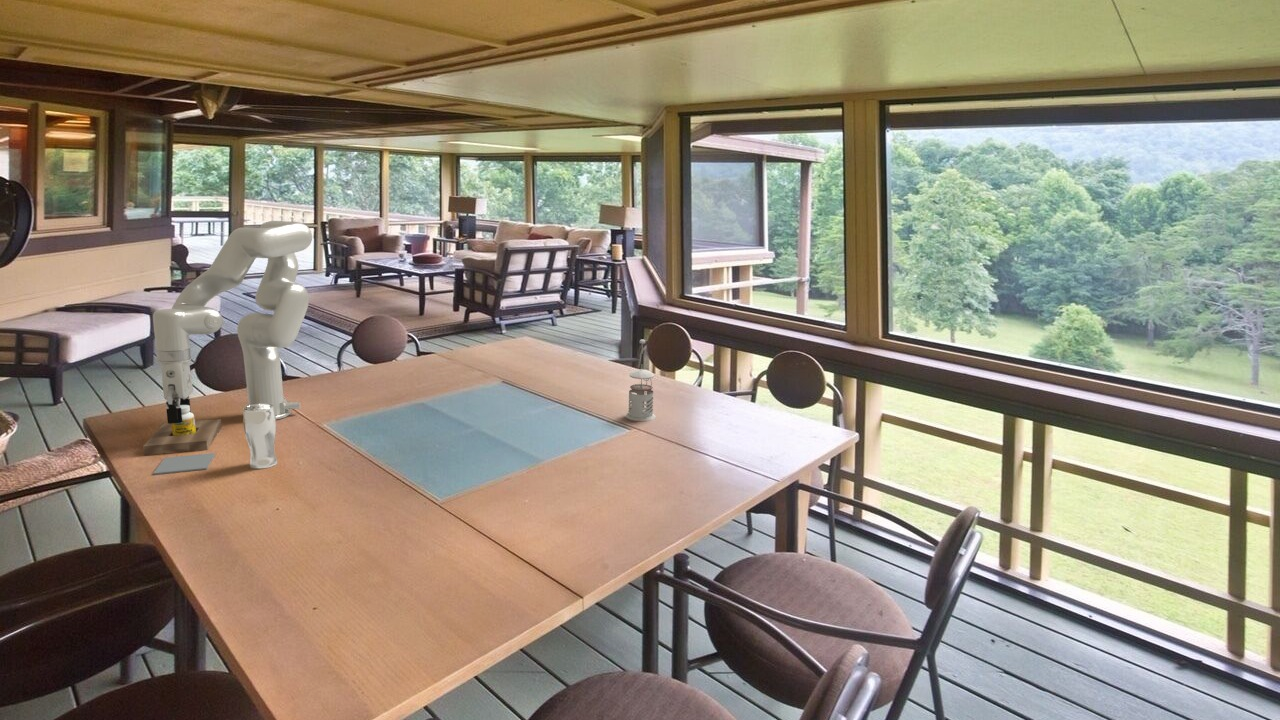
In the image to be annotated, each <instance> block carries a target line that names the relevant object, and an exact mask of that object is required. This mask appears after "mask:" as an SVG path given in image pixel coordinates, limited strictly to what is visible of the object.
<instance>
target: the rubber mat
mask: <svg viewBox="0 0 1280 720" xmlns="http://www.w3.org/2000/svg"><path fill="white" fill-rule="evenodd" d="M215 455H216V452H211V453H202V454H192V455H180V456H168V457H164V458H163V459H162V461H161V462H160V463H159V464H158V466H157V467H156V469H155V470H154V472H153V473H152V474H153V476H155V475H166V474H176V473H185V472H186V473H187V472H195V471H204V470H207V469H208V468H209V466H210V465H211V463H212V462H213V459H214V458H215Z"/></svg>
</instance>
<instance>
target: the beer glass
mask: <svg viewBox="0 0 1280 720" xmlns="http://www.w3.org/2000/svg"><path fill="white" fill-rule="evenodd" d="M276 421H277V420H275V414H274V409H273V405H272V404H267V403H261V404H253V405H249V404H248V405H245V406H244V407H243V408H242V422H243V431H244V435H245V438H246V441H247V444H248V447H249V452H250V459H249V461H250V462H249V467H250V469H254V470H255V469H256V470H263V469H268V468H272V467H274V466H276V465H277V464H278V458H277V456H276V453H275V451H276V450H275V443H276V442H275V441H276V430H277V425H276V424H277V422H276Z"/></svg>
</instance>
